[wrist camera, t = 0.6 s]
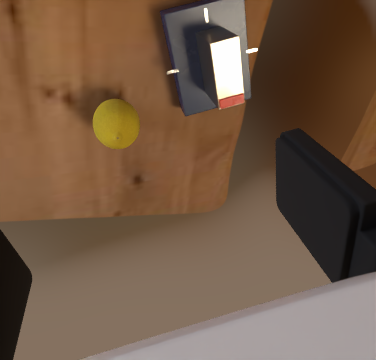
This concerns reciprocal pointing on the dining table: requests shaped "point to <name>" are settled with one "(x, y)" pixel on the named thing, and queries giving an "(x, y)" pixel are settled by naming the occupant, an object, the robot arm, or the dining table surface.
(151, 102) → the dining table surface
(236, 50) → the handle
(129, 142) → the lemon
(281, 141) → the robot arm
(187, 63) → the handle panel
